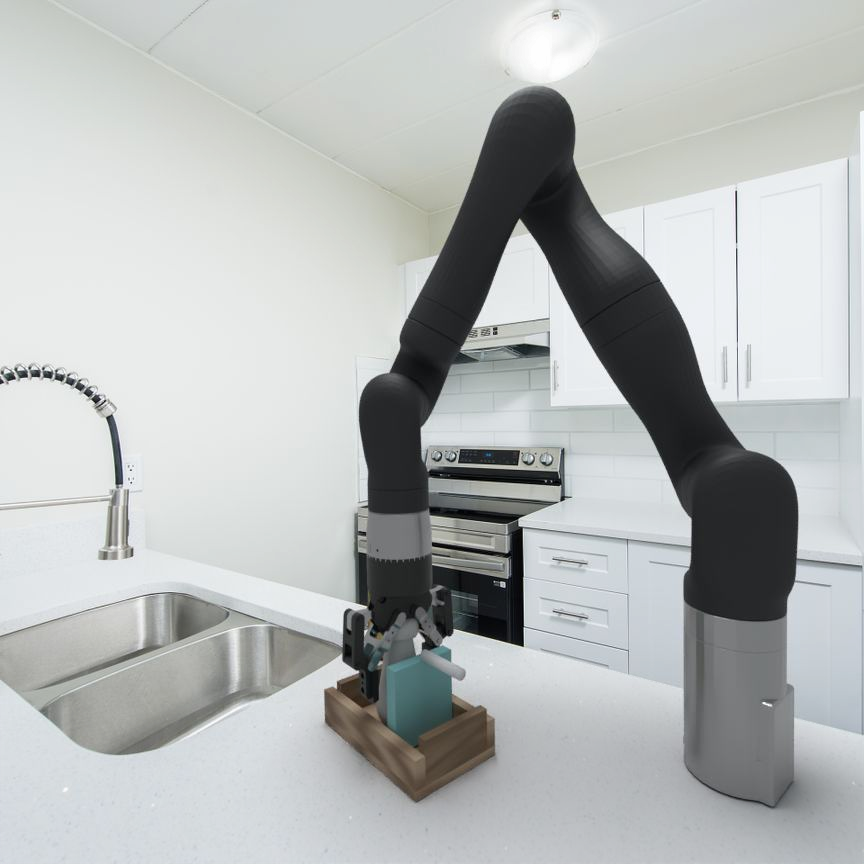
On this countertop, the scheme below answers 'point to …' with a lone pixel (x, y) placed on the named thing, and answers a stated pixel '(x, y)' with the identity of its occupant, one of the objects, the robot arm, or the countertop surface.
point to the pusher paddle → (421, 693)
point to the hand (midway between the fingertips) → (402, 686)
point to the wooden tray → (403, 764)
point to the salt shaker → (396, 660)
